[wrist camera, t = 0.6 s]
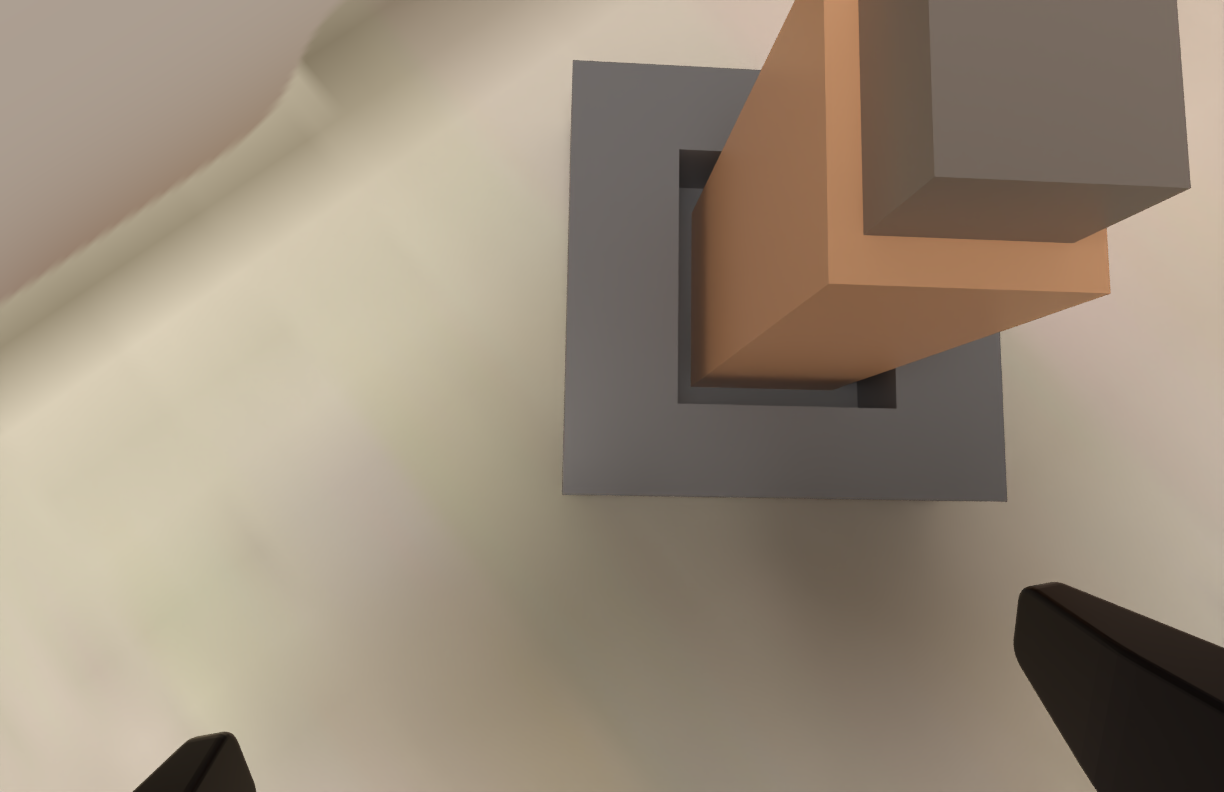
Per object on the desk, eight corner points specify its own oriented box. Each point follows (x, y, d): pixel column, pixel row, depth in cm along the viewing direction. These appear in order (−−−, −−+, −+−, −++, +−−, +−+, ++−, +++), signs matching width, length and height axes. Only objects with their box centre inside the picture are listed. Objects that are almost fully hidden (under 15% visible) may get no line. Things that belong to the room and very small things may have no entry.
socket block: (937, 498, 22) (1007, 501, 19) (561, 493, 22) (562, 494, 18) (925, 141, 24) (989, 81, 20) (571, 124, 23) (572, 60, 19)
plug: (831, 390, 21) (1237, 249, 9) (690, 386, 21) (892, 236, 8) (828, 219, 22) (1204, -153, 9) (691, 213, 22) (880, -177, 9)
